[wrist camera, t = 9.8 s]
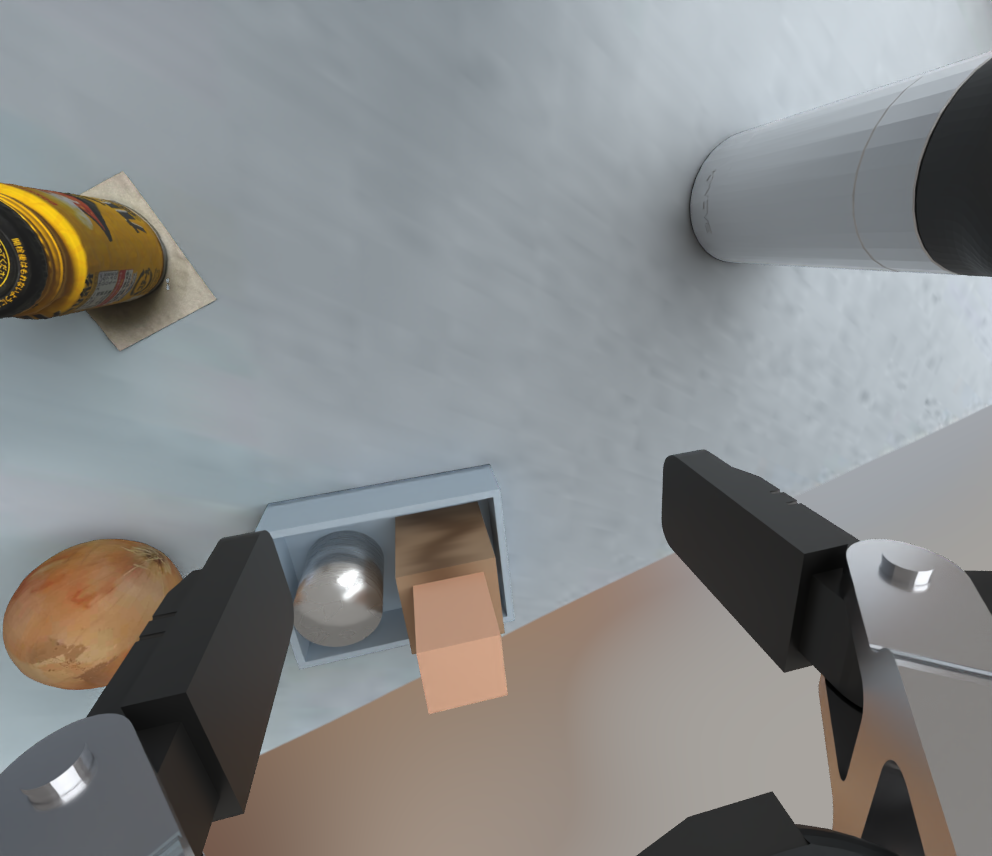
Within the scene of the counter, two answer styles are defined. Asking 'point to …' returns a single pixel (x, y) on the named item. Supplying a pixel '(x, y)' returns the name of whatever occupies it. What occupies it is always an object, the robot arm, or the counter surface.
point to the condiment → (93, 260)
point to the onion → (85, 611)
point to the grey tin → (340, 589)
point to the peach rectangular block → (458, 642)
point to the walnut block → (442, 554)
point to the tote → (381, 542)
